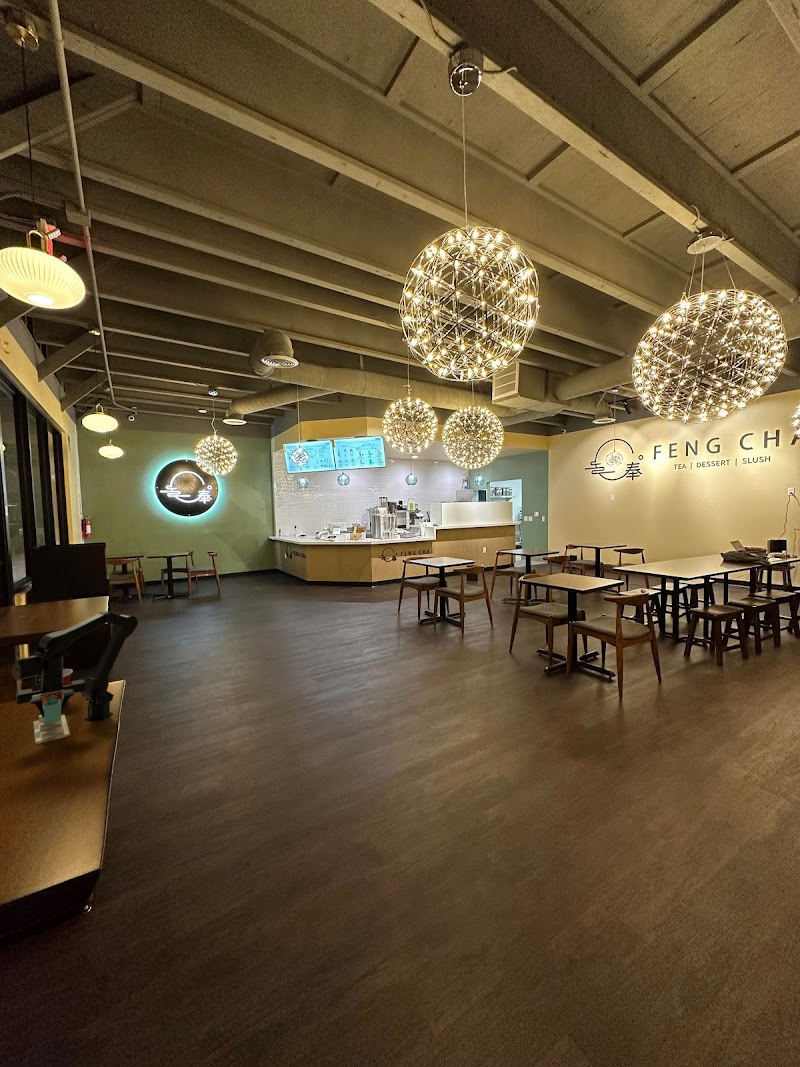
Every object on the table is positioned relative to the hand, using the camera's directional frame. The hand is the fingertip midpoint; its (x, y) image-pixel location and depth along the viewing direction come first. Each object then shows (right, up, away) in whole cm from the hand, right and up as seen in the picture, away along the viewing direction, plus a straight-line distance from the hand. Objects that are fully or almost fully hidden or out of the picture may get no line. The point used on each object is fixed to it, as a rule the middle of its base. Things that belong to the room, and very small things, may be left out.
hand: (52, 715), depth 151 cm
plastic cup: (-19, -6, +25) cm, 32 cm away
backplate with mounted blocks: (-3, -6, +3) cm, 8 cm away
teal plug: (0, -2, 0) cm, 2 cm away
